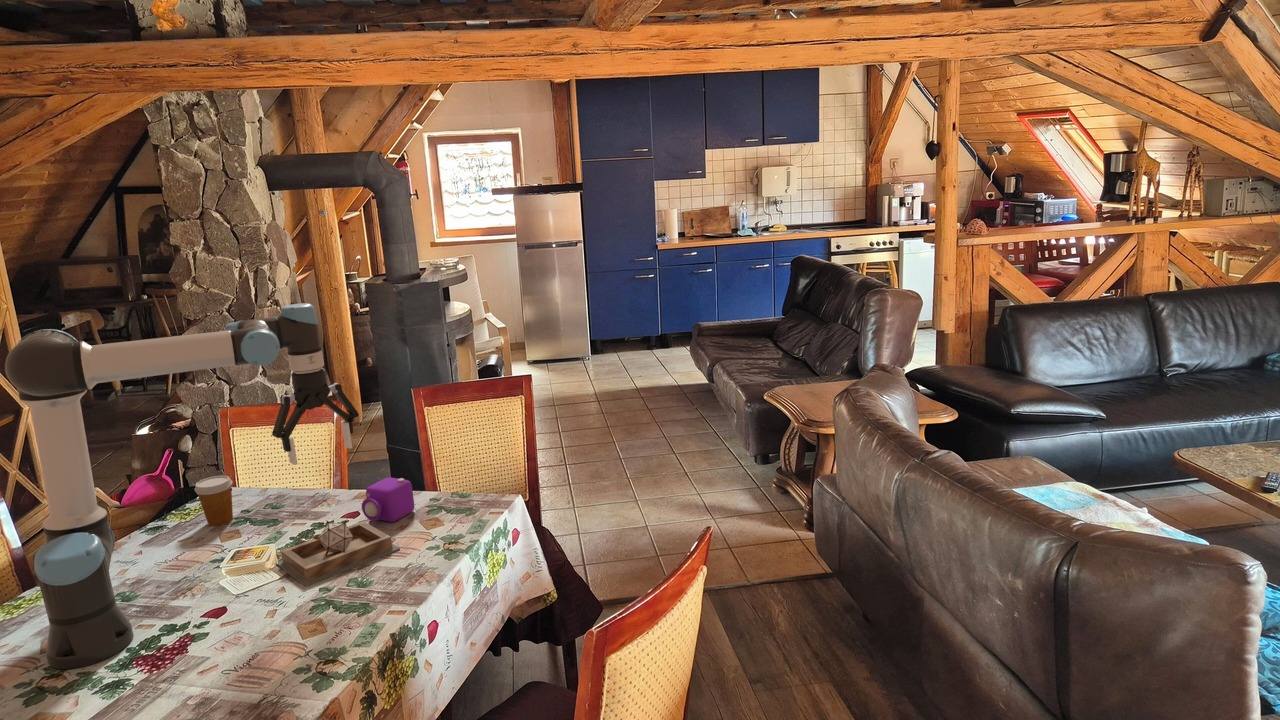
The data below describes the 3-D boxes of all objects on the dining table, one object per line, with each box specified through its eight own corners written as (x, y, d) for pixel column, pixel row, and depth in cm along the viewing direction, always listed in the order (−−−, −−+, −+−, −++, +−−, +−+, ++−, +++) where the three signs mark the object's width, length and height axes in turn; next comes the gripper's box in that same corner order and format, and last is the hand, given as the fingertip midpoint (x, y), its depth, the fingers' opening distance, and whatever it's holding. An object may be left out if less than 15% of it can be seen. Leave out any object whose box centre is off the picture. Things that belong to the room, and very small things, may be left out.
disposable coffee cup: (202, 519, 239) (194, 479, 236) (239, 511, 242) (231, 472, 240) (201, 531, 230) (192, 490, 227) (239, 523, 234) (231, 483, 231)
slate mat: (305, 586, 195) (305, 585, 195) (275, 563, 208) (275, 562, 208) (400, 549, 211) (399, 548, 211) (366, 530, 224) (366, 529, 224)
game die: (348, 563, 212) (368, 528, 212) (330, 567, 203) (352, 531, 204) (320, 544, 213) (340, 509, 214) (302, 547, 205) (323, 511, 205)
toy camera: (357, 527, 227) (351, 492, 224) (386, 506, 239) (381, 473, 237) (392, 529, 223) (387, 494, 221) (419, 508, 236) (415, 475, 234)
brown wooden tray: (308, 582, 197) (305, 569, 196) (283, 563, 208) (280, 550, 207) (392, 549, 211) (390, 536, 210) (365, 533, 222) (363, 521, 221)
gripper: (259, 384, 187) (275, 473, 192) (364, 360, 204) (377, 443, 209) (247, 379, 193) (263, 466, 198) (350, 356, 209) (363, 438, 214)
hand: (321, 455), depth 203 cm, fingers open, 13 cm apart
